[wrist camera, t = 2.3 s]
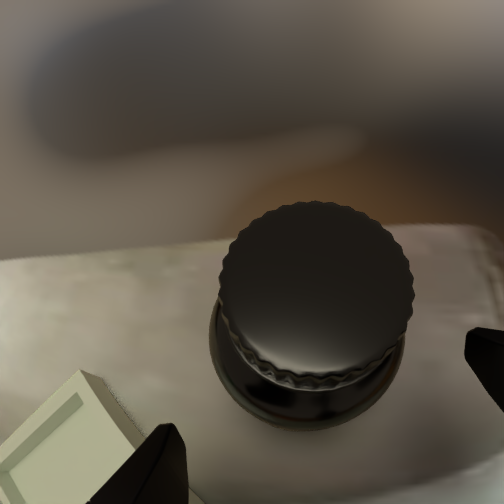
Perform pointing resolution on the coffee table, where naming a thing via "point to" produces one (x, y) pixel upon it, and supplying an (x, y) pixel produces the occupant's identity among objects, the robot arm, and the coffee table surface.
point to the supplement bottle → (311, 315)
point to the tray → (68, 446)
